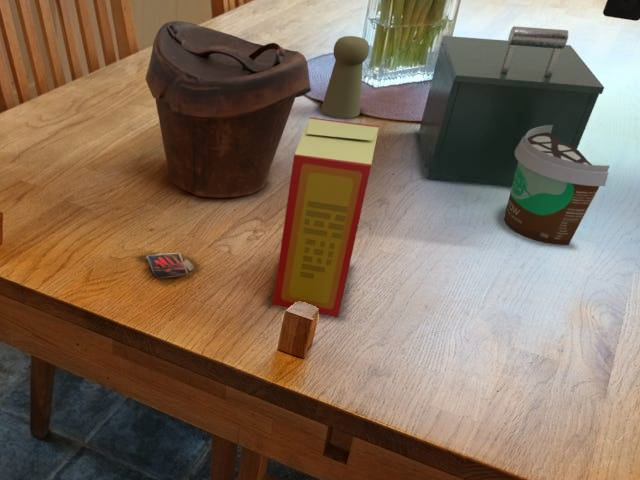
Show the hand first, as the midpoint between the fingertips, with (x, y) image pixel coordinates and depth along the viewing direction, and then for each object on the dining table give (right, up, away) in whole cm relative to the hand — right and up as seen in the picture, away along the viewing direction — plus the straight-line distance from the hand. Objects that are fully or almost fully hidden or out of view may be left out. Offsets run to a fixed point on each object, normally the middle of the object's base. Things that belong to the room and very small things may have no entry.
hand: (629, 7), depth 69 cm
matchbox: (-44, -24, +8) cm, 51 cm away
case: (-37, -10, +25) cm, 46 cm away
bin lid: (0, +4, +23) cm, 23 cm away
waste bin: (0, -6, +31) cm, 32 cm away
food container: (-2, -18, +17) cm, 25 cm away
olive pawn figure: (-17, +5, +45) cm, 48 cm away
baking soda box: (-29, -26, +6) cm, 40 cm away
